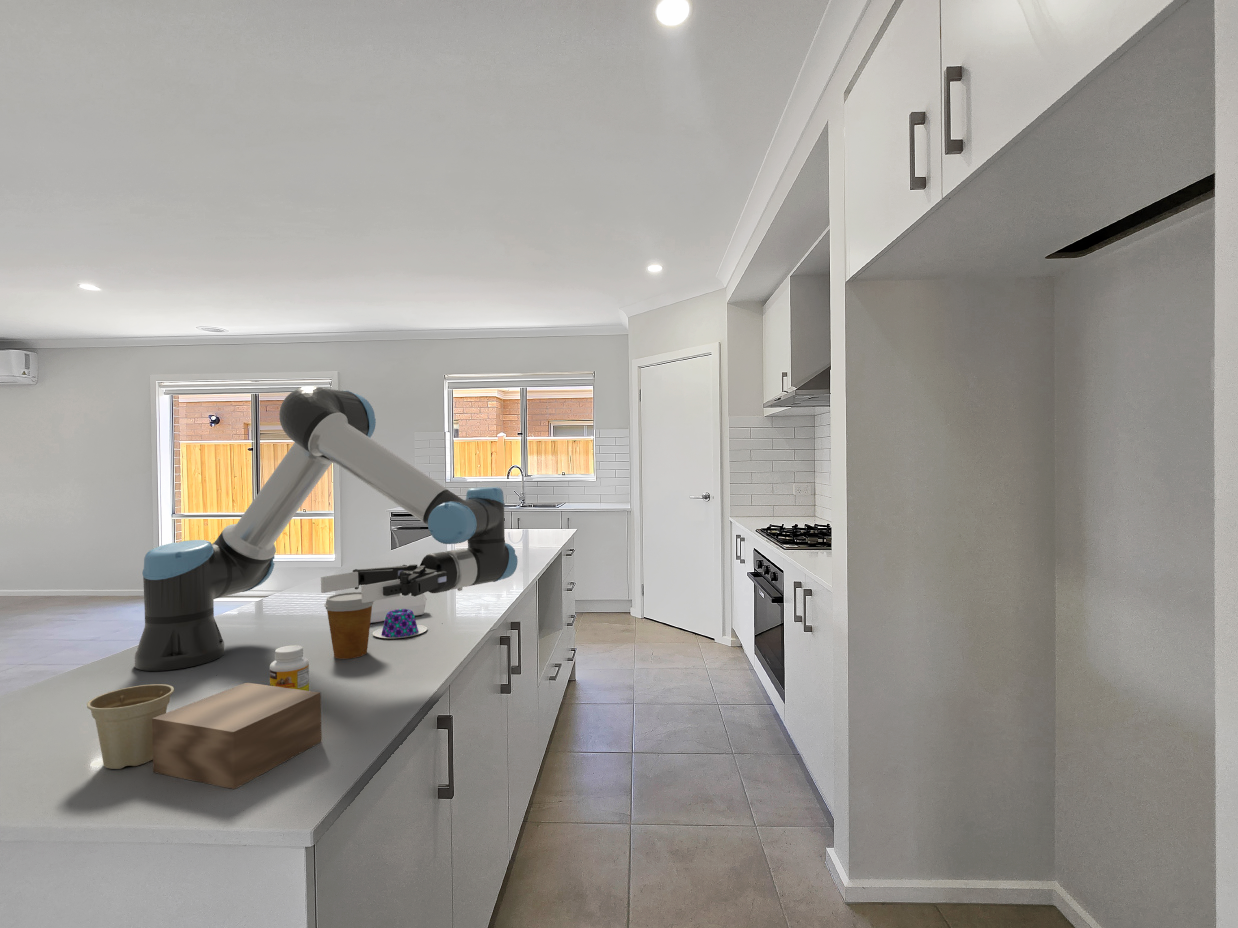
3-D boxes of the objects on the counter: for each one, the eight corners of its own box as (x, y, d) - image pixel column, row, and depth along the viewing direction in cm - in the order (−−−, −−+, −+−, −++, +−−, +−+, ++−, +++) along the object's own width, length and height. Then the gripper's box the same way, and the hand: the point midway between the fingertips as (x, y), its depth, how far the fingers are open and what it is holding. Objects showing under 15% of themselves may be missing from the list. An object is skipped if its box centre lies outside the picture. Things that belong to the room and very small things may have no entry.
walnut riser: (153, 772, 85) (152, 718, 85) (247, 729, 98) (246, 682, 98) (234, 788, 80) (233, 731, 80) (321, 741, 93) (320, 692, 93)
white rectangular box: (335, 616, 152) (434, 601, 167) (328, 596, 157) (424, 583, 172) (331, 640, 155) (429, 623, 170) (324, 620, 160) (419, 605, 175)
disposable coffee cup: (383, 647, 139) (382, 591, 139) (361, 661, 130) (360, 601, 130) (340, 647, 140) (339, 591, 140) (315, 661, 131) (314, 601, 131)
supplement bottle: (261, 717, 102) (260, 652, 102) (289, 704, 108) (288, 642, 108) (290, 721, 101) (289, 654, 101) (317, 707, 106) (316, 644, 106)
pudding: (421, 640, 146) (421, 616, 146) (365, 642, 145) (365, 618, 145) (431, 626, 158) (431, 604, 158) (380, 628, 157) (380, 606, 157)
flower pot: (119, 745, 93) (118, 684, 93) (189, 742, 94) (188, 681, 94) (69, 777, 84) (68, 710, 84) (148, 773, 84) (146, 707, 84)
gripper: (489, 598, 119) (382, 622, 103) (410, 583, 135) (307, 602, 119) (488, 556, 119) (381, 574, 103) (410, 546, 135) (306, 560, 119)
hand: (341, 589), depth 111 cm, fingers open, 13 cm apart
